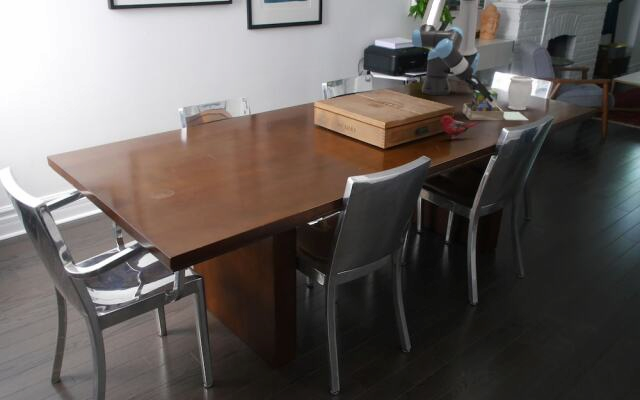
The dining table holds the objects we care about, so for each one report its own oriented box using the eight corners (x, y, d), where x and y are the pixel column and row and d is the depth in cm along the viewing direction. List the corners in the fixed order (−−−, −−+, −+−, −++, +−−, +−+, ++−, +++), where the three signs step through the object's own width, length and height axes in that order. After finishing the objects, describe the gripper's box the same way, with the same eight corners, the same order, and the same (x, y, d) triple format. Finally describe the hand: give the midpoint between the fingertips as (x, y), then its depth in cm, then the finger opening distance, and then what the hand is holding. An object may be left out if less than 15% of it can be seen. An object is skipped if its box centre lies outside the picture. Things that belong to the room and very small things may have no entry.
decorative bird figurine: (436, 139, 210) (438, 114, 206) (475, 136, 215) (478, 112, 211) (439, 141, 208) (442, 116, 204) (479, 138, 212) (482, 113, 208)
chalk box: (494, 118, 240) (499, 86, 234) (474, 118, 240) (478, 86, 234) (489, 113, 248) (493, 82, 242) (469, 113, 248) (473, 81, 242)
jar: (504, 109, 255) (509, 78, 249) (506, 105, 264) (511, 75, 258) (528, 112, 252) (533, 80, 246) (528, 107, 260) (534, 76, 254)
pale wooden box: (462, 111, 251) (463, 103, 249) (493, 112, 251) (494, 103, 249) (469, 119, 238) (471, 111, 236) (502, 120, 237) (504, 111, 236)
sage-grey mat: (497, 112, 250) (497, 111, 250) (518, 112, 250) (518, 111, 250) (506, 120, 238) (506, 119, 237) (528, 120, 237) (528, 119, 237)
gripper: (446, 70, 245) (473, 103, 253) (465, 80, 224) (494, 115, 233) (458, 58, 243) (485, 91, 252) (478, 67, 223) (507, 102, 231)
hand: (489, 102), depth 242 cm, fingers closed on chalk box, 10 cm apart
